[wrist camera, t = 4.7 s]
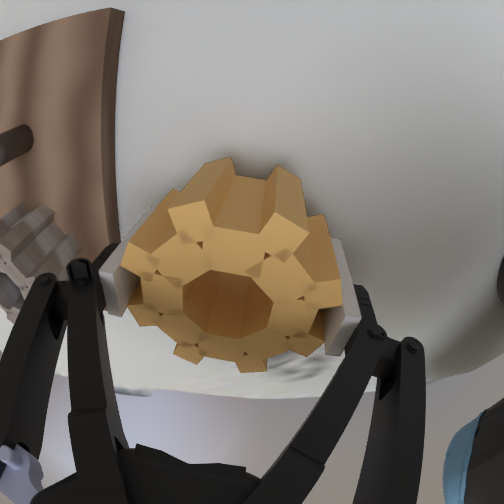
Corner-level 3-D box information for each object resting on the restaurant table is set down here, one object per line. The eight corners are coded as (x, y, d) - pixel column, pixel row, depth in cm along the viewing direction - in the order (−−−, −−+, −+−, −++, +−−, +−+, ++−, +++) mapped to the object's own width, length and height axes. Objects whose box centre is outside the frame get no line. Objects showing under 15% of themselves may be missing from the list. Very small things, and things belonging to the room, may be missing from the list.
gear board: (124, 11, 13) (40, -7, 6) (129, 300, 28) (94, 371, 20) (-10, 49, 13) (-81, 67, 6) (20, 271, 28) (-21, 321, 20)
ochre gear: (344, 178, 15) (373, 231, 10) (302, 310, 21) (304, 381, 16) (165, 149, 15) (112, 188, 10) (165, 286, 21) (135, 349, 16)
